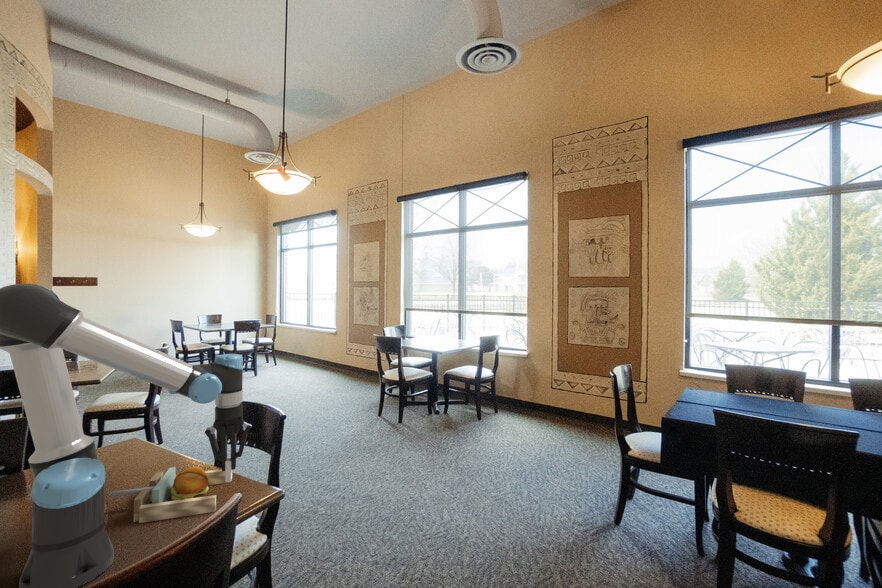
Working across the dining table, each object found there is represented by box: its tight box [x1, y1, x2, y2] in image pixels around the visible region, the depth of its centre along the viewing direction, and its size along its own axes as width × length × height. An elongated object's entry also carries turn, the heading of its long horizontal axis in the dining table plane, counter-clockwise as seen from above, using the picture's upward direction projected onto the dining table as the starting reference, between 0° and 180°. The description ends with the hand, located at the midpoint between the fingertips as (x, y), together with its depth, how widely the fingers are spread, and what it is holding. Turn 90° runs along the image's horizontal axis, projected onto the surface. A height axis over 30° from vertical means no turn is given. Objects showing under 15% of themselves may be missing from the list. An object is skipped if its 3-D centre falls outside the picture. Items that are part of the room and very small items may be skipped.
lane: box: [133, 468, 228, 524], centre depth 117 cm, size 20×19×6 cm
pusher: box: [109, 466, 177, 504], centre depth 113 cm, size 14×14×7 cm
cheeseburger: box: [170, 466, 209, 501], centre depth 118 cm, size 10×11×10 cm
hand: (228, 480), depth 121 cm, fingers closed
